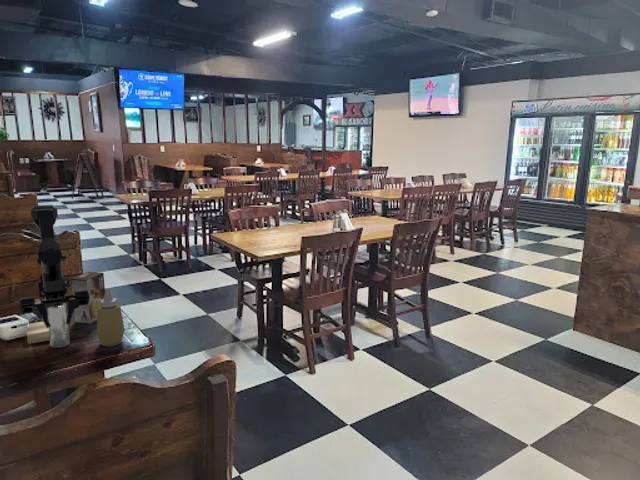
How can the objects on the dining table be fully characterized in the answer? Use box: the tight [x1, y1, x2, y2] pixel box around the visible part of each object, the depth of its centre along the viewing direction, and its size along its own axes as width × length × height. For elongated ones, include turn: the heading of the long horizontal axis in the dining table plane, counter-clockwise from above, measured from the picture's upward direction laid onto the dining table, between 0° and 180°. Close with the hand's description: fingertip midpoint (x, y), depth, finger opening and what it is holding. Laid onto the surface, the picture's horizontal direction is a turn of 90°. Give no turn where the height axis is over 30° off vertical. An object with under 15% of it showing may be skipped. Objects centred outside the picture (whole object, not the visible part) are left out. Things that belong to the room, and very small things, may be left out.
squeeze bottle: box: [96, 287, 125, 347], centre depth 144 cm, size 8×8×18 cm
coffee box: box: [70, 271, 106, 324], centre depth 163 cm, size 9×6×16 cm
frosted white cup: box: [46, 303, 71, 349], centre depth 143 cm, size 5×5×12 cm
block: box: [26, 320, 50, 344], centre depth 150 cm, size 10×10×3 cm
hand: (58, 325), depth 142 cm, fingers closed on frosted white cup, 5 cm apart
